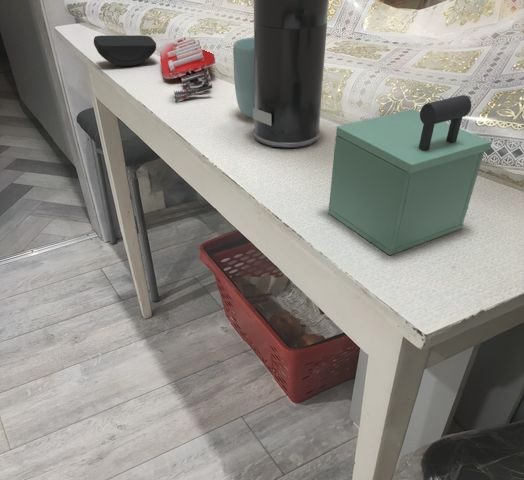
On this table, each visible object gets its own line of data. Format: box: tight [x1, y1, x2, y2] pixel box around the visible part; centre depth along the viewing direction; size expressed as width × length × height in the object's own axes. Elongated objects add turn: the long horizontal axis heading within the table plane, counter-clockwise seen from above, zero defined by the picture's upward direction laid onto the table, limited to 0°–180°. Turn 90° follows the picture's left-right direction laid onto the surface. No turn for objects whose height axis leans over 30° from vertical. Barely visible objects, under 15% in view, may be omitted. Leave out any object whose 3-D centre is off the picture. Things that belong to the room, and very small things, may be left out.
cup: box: [232, 36, 255, 120], centre depth 77 cm, size 8×8×10 cm
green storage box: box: [328, 134, 485, 256], centre depth 54 cm, size 10×10×9 cm
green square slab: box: [335, 94, 493, 173], centre depth 49 cm, size 11×10×5 cm
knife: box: [190, 68, 210, 88], centre depth 94 cm, size 17×2×5 cm
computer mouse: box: [93, 35, 157, 67], centre depth 101 cm, size 6×11×4 cm, turn 112°
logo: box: [159, 35, 216, 103], centre depth 93 cm, size 25×2×10 cm
